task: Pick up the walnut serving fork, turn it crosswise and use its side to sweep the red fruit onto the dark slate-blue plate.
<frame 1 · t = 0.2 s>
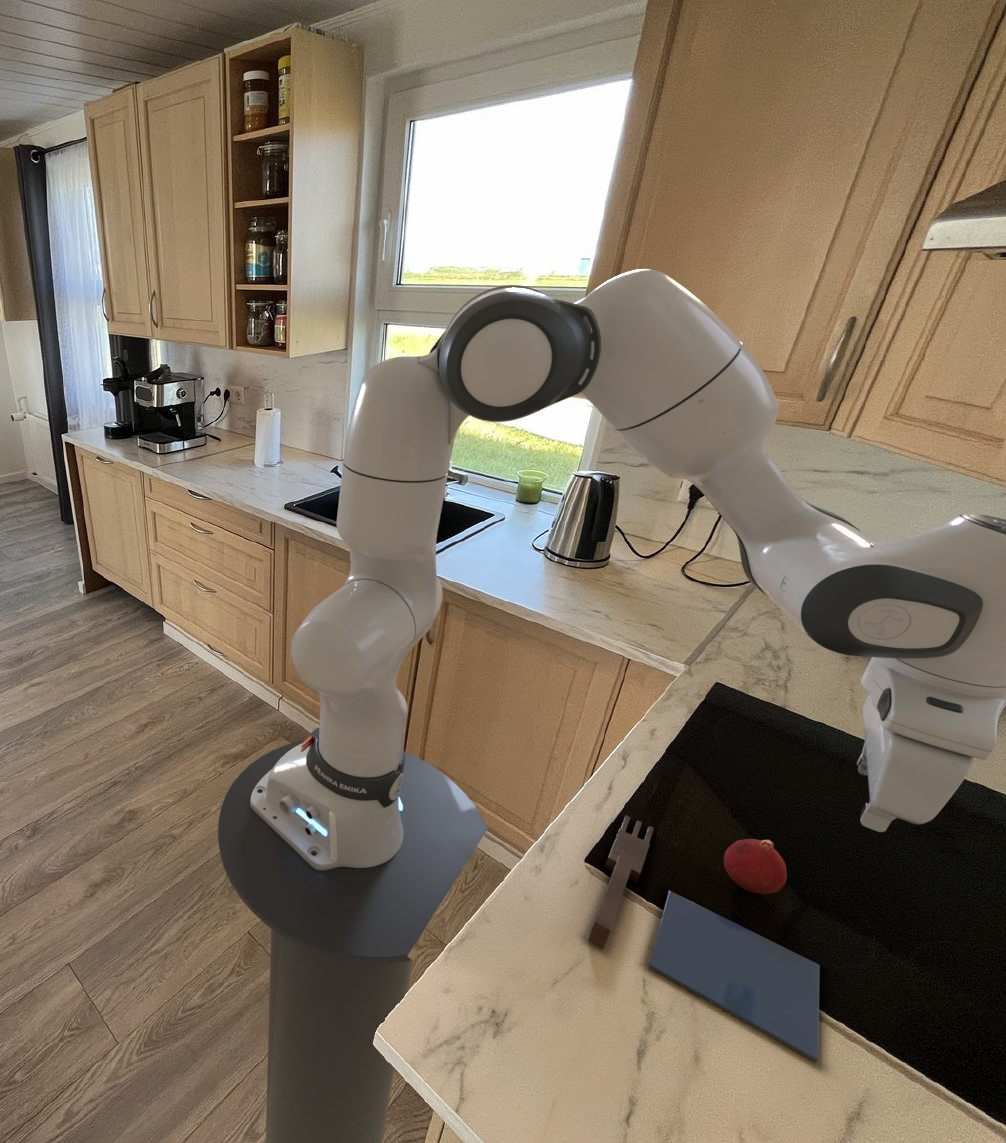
hand: (868, 797, 64), 19 cm above the worktop, tool pointing down, fingers open, 8 cm apart
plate: (733, 967, 67), on the worktop
red fruit: (743, 888, 76), on the worktop
fork: (618, 880, 77), on the worktop
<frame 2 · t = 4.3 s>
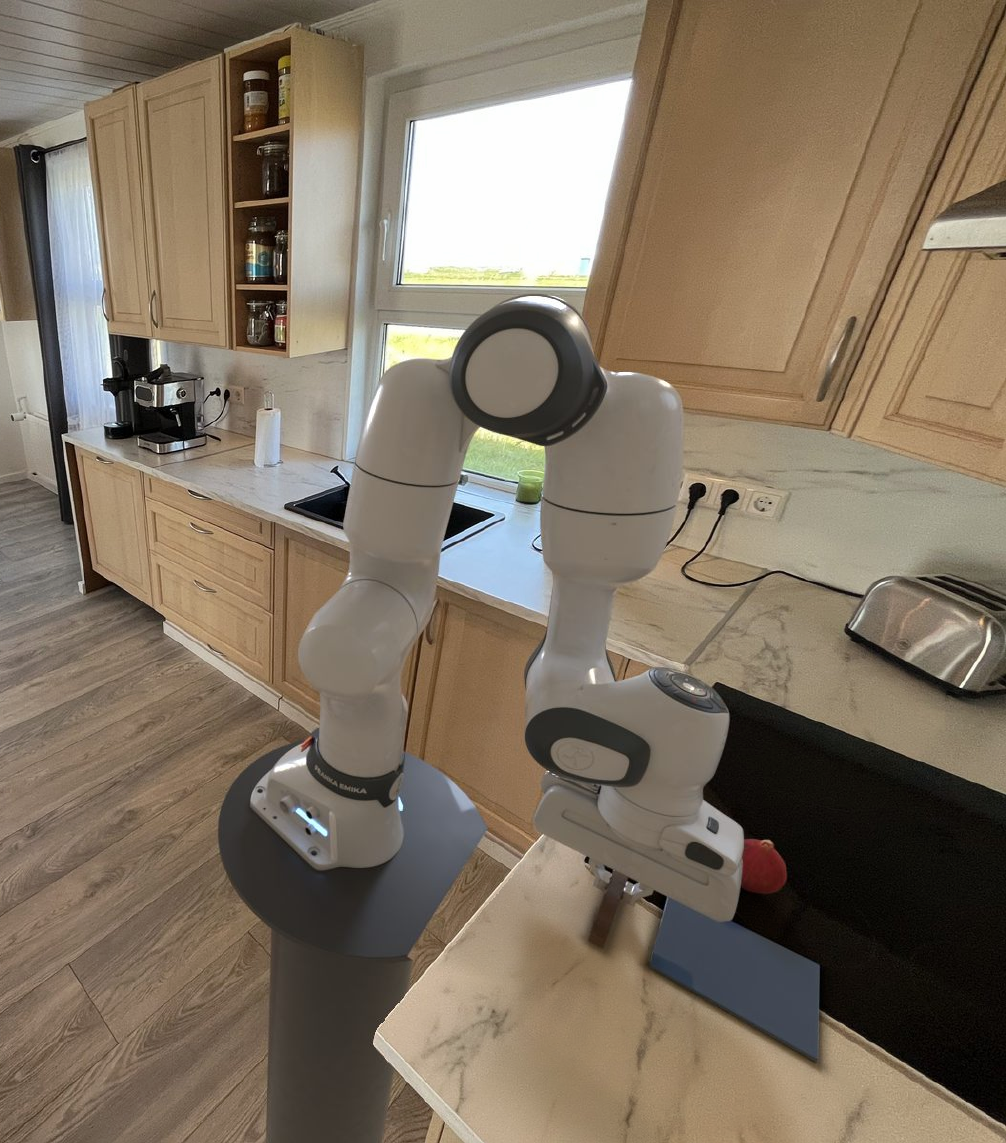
hand: (614, 892, 74), 2 cm above the worktop, tool pointing down, fingers closed on fork
fork: (618, 880, 77), on the worktop, touching gripper
everything else where it was.
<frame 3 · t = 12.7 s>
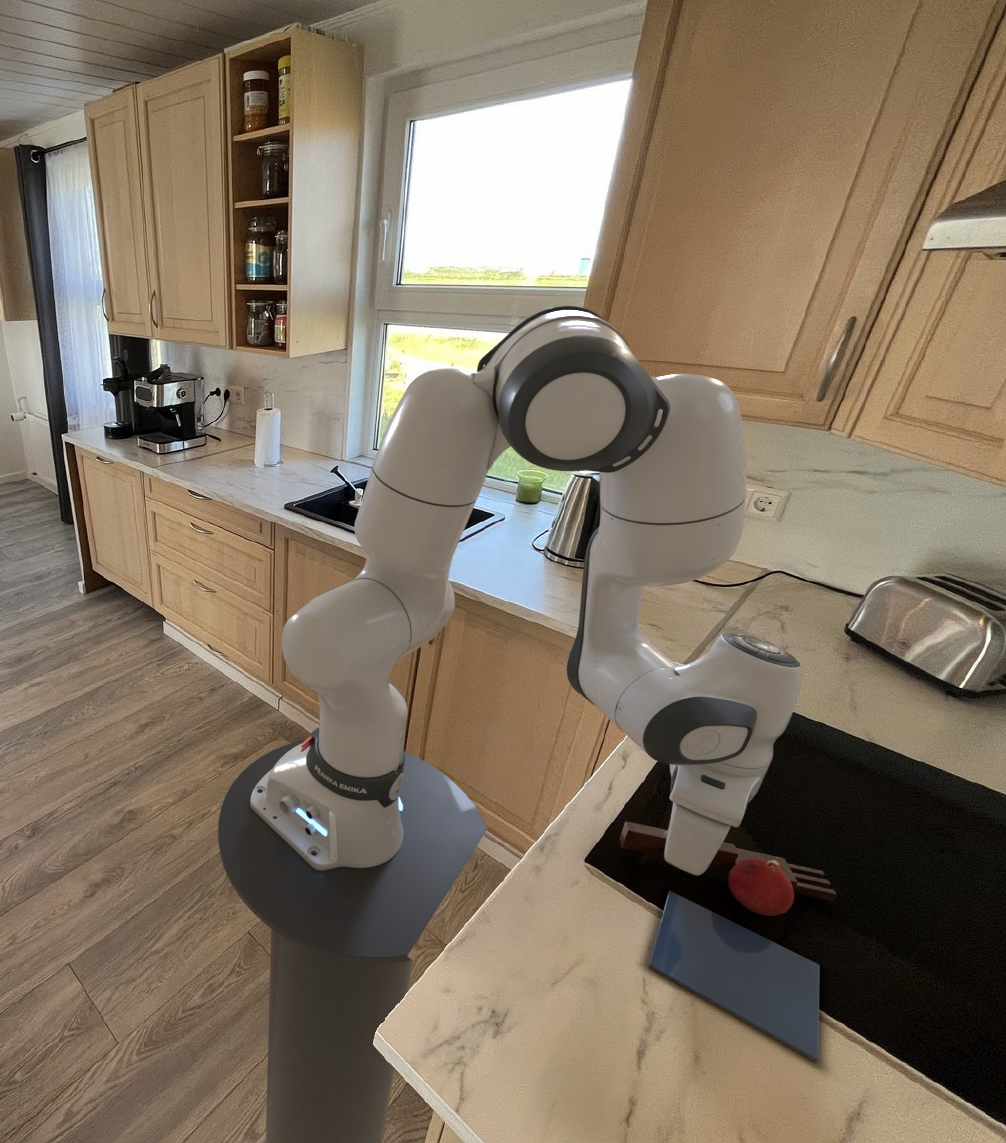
hand: (681, 846, 78), 3 cm above the worktop, tool pointing down, fingers closed on fork, 2 cm apart
red fruit: (748, 908, 74), on the worktop, touching fork
fork: (719, 865, 78), point 1 cm above the worktop, touching gripper, red fruit
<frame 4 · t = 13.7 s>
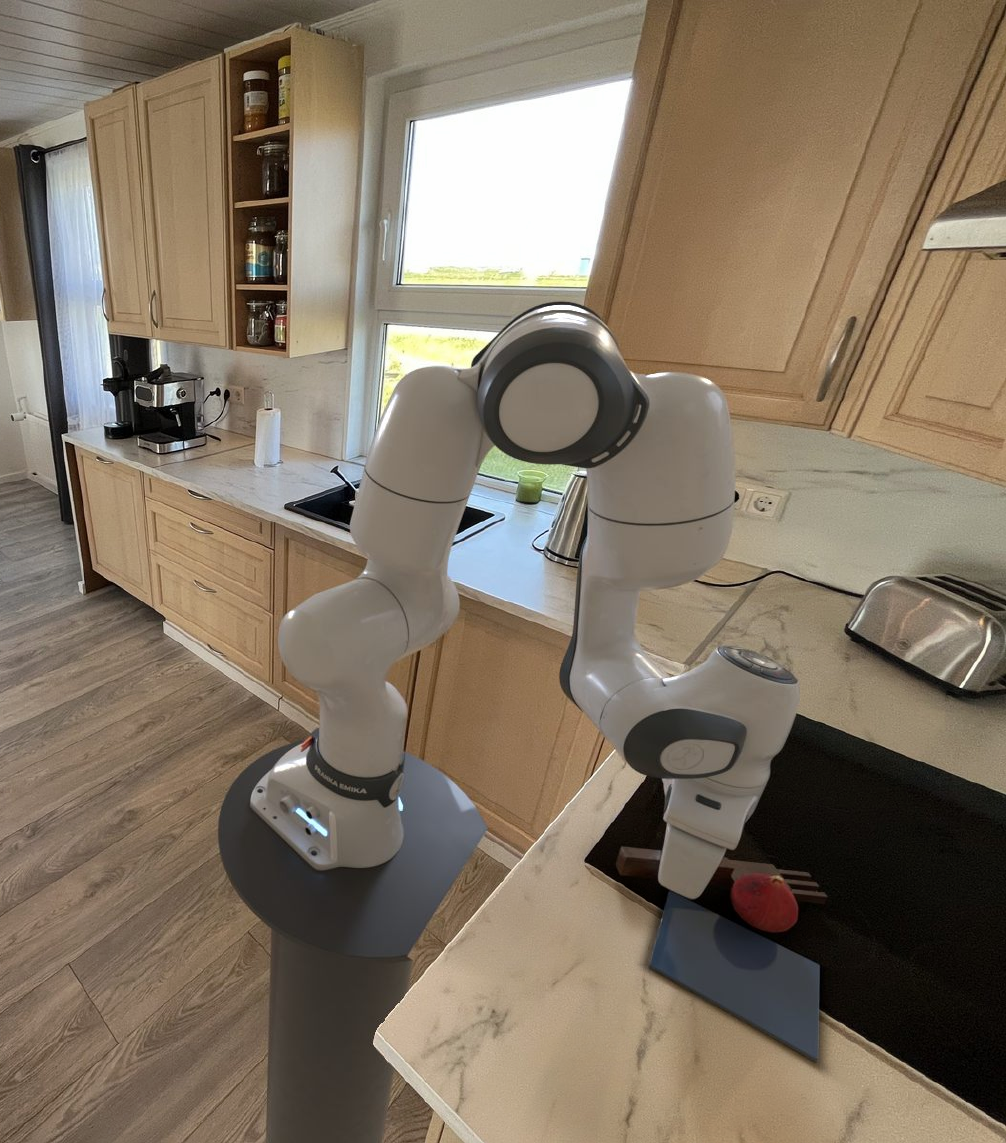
hand: (675, 866, 76), 3 cm above the worktop, tool pointing down, fingers closed on fork, 3 cm apart
red fruit: (751, 924, 72), on the worktop, touching fork, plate
fork: (714, 880, 76), point 1 cm above the worktop, touching gripper, red fruit
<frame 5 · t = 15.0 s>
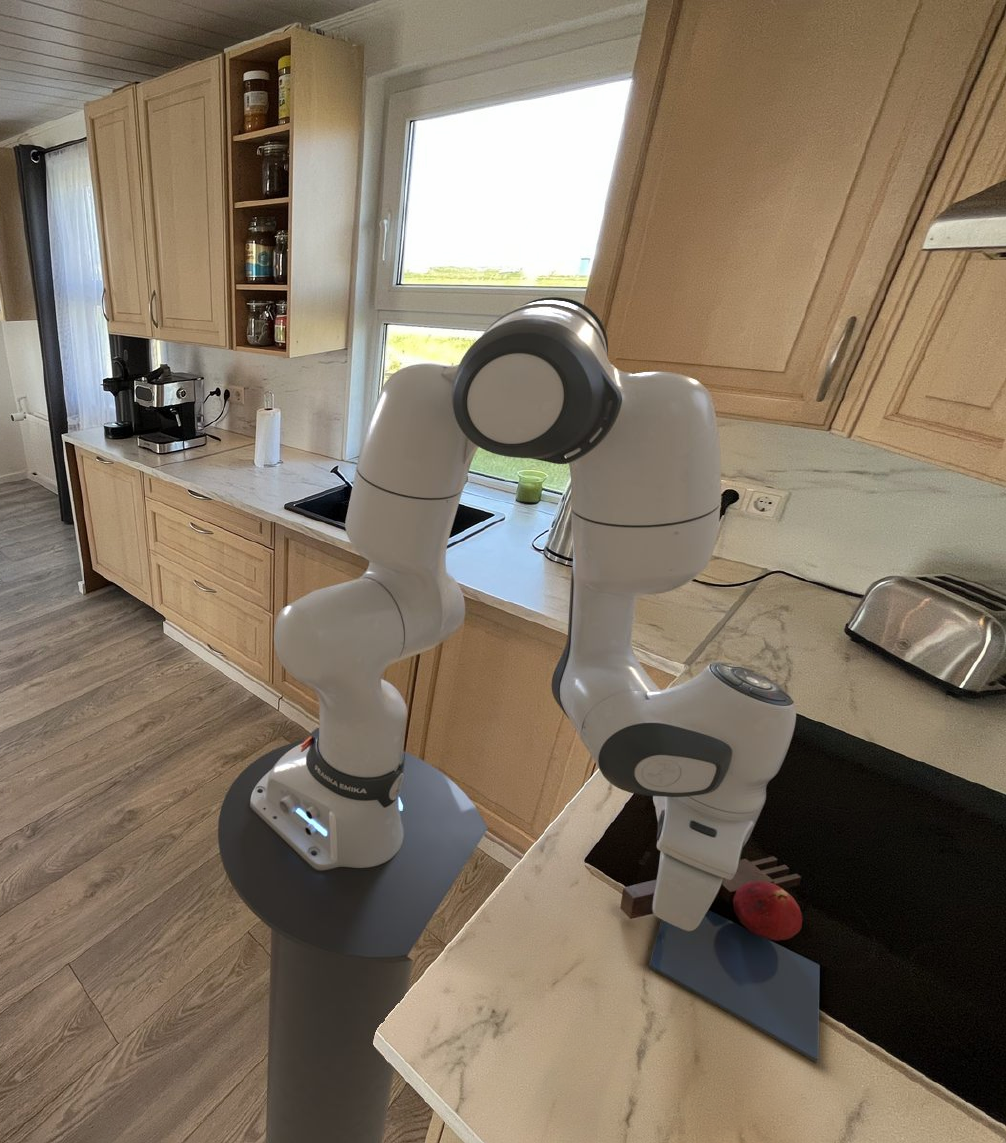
hand: (669, 891, 72), 3 cm above the worktop, tool pointing down, fingers closed on fork, 4 cm apart
fork: (706, 893, 74), point 1 cm above the worktop, tilted 7°, touching gripper, red fruit
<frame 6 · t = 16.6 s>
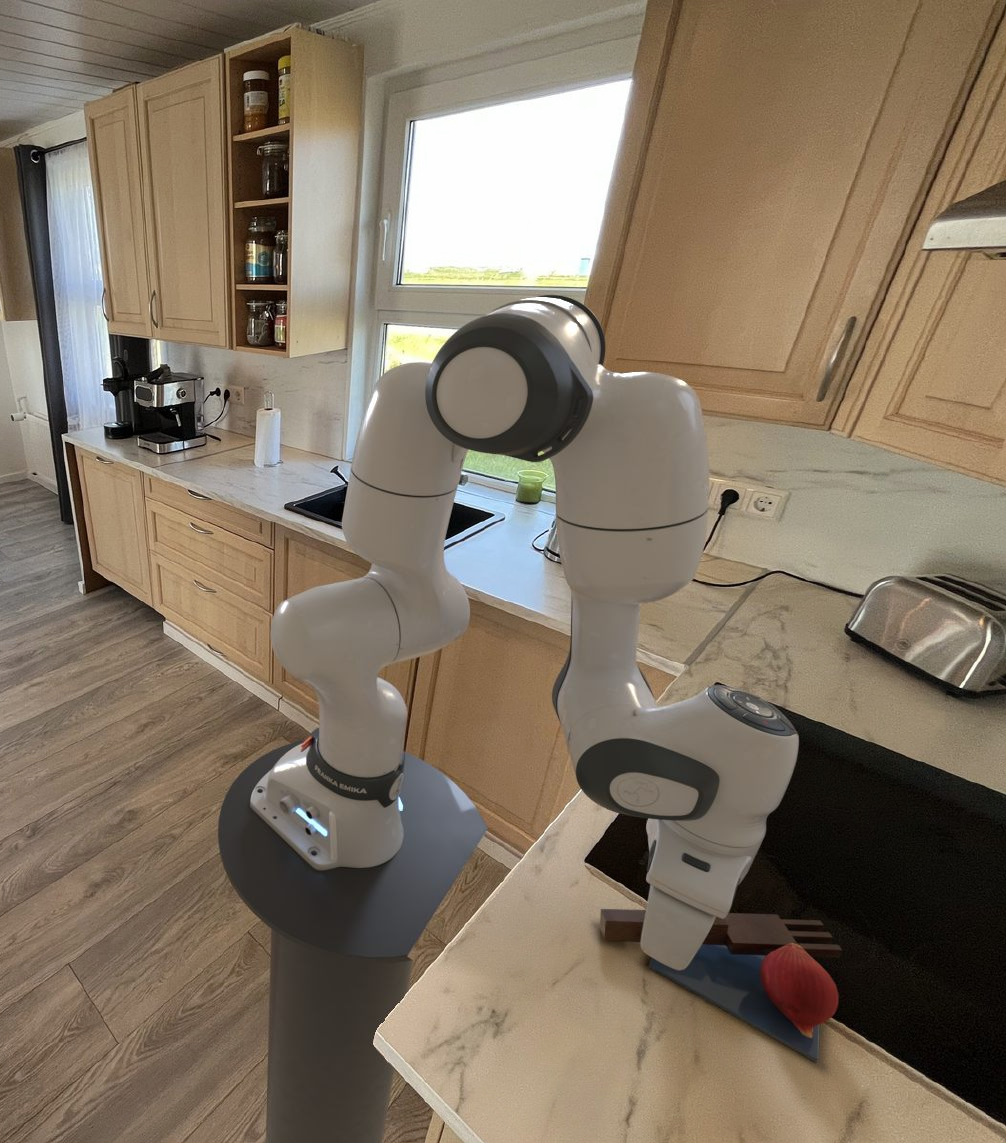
hand: (663, 924, 69), 3 cm above the worktop, tool pointing down, fingers closed on fork, 3 cm apart
red fruit: (792, 941, 64), point 6 cm above the worktop, touching fork, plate
fork: (711, 938, 68), point 2 cm above the worktop, tilted 10°, touching gripper, red fruit
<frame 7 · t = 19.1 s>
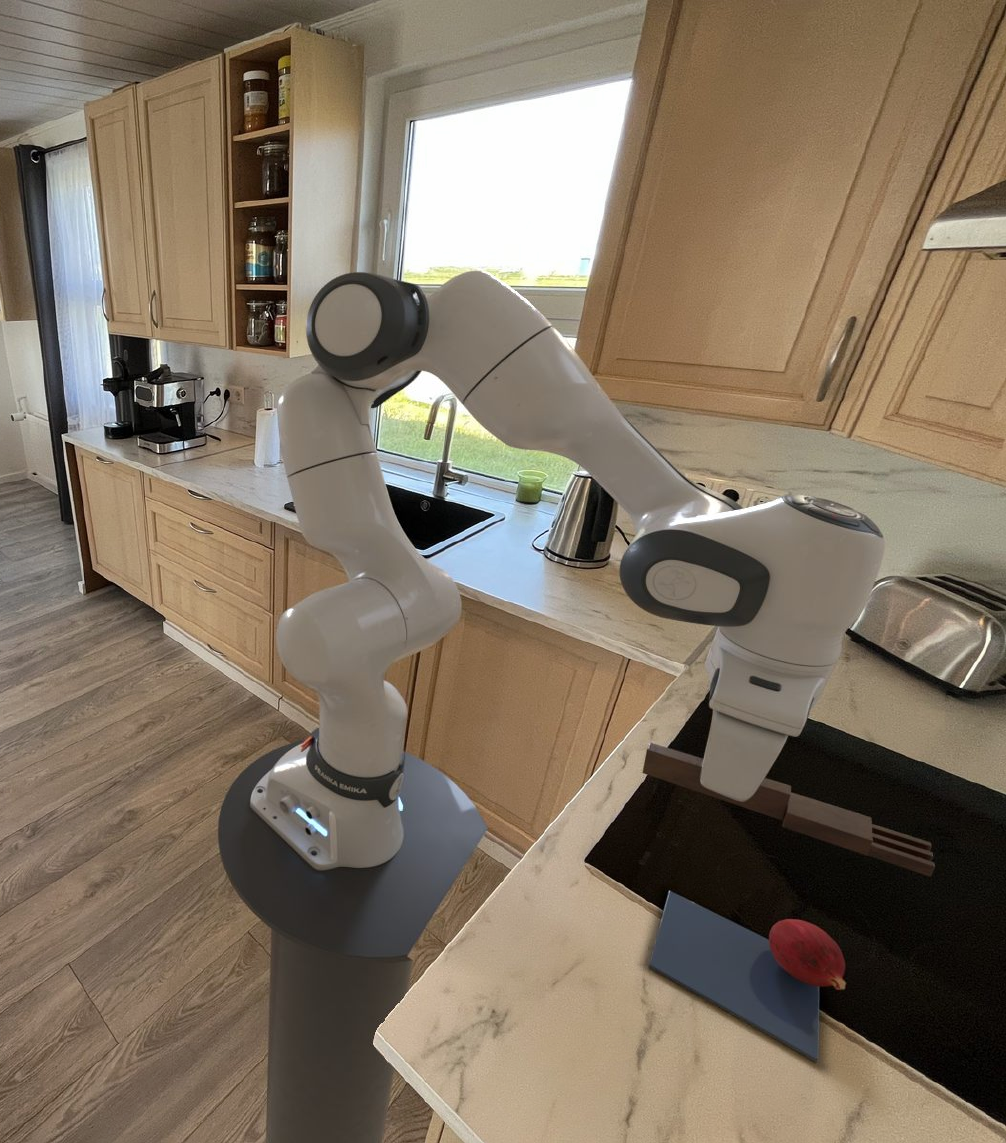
hand: (717, 778, 64), 21 cm above the worktop, tool pointing down, fingers closed on fork
red fruit: (775, 924, 69), point 3 cm above the worktop, touching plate
fork: (770, 811, 62), point 19 cm above the worktop, tilted 5°, touching gripper
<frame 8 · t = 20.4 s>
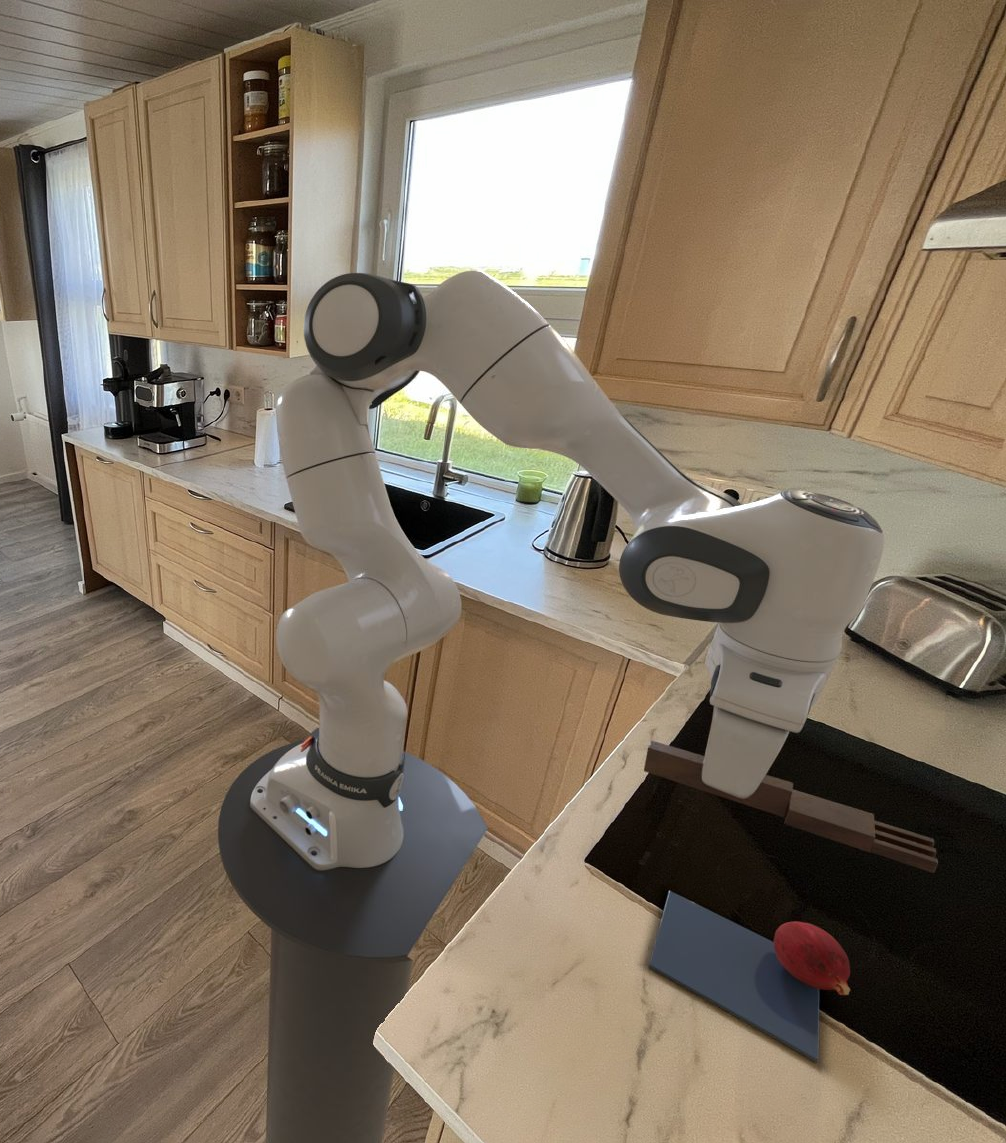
hand: (719, 775, 64), 21 cm above the worktop, tool pointing down, fingers closed on fork
fork: (772, 808, 62), point 20 cm above the worktop, tilted 6°, touching gripper
at the end: red fruit inside the target area on the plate (6.9 cm from its centre), point 3.7 cm above the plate's base; the gripper is holding fork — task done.
